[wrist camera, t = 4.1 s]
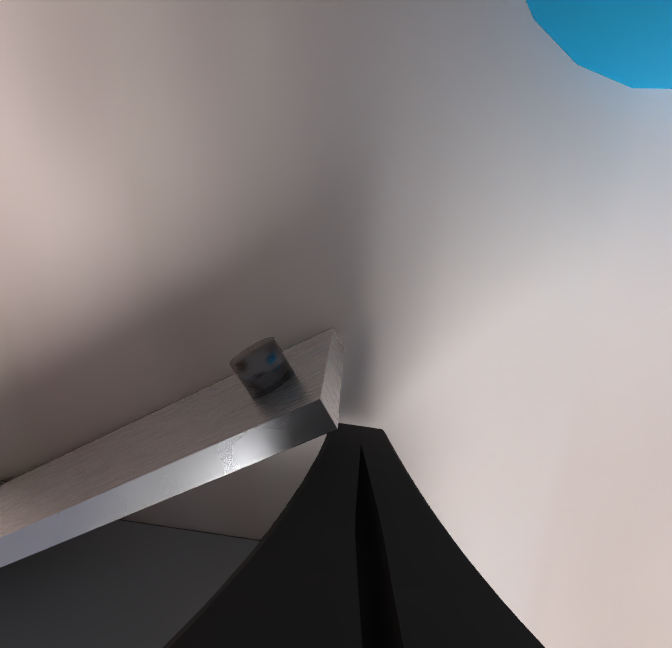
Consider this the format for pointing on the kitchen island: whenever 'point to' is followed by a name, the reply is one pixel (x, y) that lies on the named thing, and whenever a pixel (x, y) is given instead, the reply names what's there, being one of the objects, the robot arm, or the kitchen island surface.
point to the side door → (178, 445)
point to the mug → (613, 37)
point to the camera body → (114, 586)
